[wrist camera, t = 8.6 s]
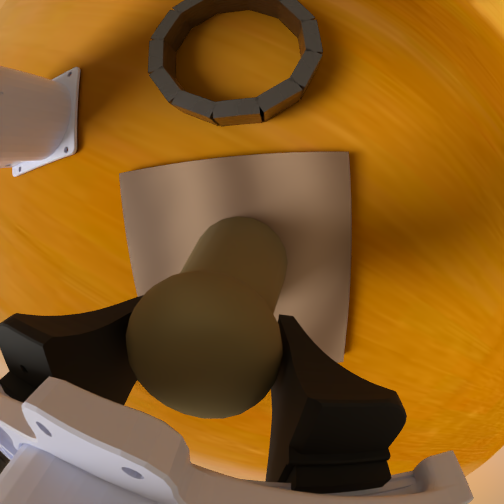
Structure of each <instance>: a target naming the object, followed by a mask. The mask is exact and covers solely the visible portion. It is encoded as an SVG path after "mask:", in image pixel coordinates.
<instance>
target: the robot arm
mask: <svg viewBox="0 0 504 504" xmlns="http://www.w3.org/2000/svg"><path fill="white" fill-rule="evenodd" d="M70 75H71V76H70ZM79 80H80V68H78V67H75V68H73V69H71V70H69V71H67V72H65V73H63V74H61V75H59V76H58V77H56V78H54V79H52V80H50V79H46V78H43V77H40V76H36V75H33V74H29V73H26V72H22V71H19V70H15V69H11V68H7V67H3V66H0V168H7V167H12V171H13V176H14V177H17V176H19V175H22V174H24V173H26V172H29V171H31V170H33V169H36V168H38V167H41V166H43V165H46V164H48V163H51V162H54V161H56V160H59V159H62V158H65V157H67V156H70V155H73V154H75V153H76V151H77V110H78V92H79ZM67 149H68V152H67ZM143 296H144V295H142V296H139V297H136V298H133V299H131V300H128V301H125V302H122V303H119V304H116V305H113V306H110V307H106V308H103V309H100V310H96V311H91V312H86V313H81V314H72V315H63V316H36V315H26V314H19V313H16V314H14V315H12V316H10V317H9V318H7V319H6V320H4V321H3V322H1V323H0V348H1V351H2V354H3V356H4V359H5V361H6V364H7V366H8V369H9V372H8V373H7V374H6V375H5V376H4V377H3V378H2V379H0V451H1V452H2V453H3V454H4V455H5V456H6V457H7V458H8V459H10V462H9V463H8V464H7V466H6V467H5V468H4V470H3V471H2V472H1V474H0V504H468V503H469V502H471V501H472V500H473V495H472V493H471V490H470V488H469V486H468V483H467V481H466V478H465V476H464V474H463V472H462V469H461V467H460V465H459V463H458V461H457V458H456V456H455V454H454V452H453V451H447V452H444V453H440V454H437V455H433V456H430V457H427V458H426V459H424V460H422V461H421V462H420V463H419V464H418V465H417V466H416V467H415V469H414V470H413V471H409V472H405V473H400V474H395V475H391V474H390V470H389V467H388V463H387V460H389V458H390V452H389V449H388V447H389V446H390V445H391V444H392V442H393V441H394V440H395V438H396V437H397V436H398V434H399V433H400V431H401V430H402V428H403V426H404V425H405V423H406V417H407V416H406V412H405V409H404V407H403V405H402V403H401V401H400V399H399V397H398V395H397V393H396V391H393V390H390V389H387V388H384V387H381V386H379V385H376V384H373V383H371V382H369V381H367V380H365V379H363V378H361V377H359V376H357V375H355V374H353V373H352V372H350V371H348V370H347V369H345V368H344V367H342V366H341V365H339V364H338V363H336V362H335V361H334V360H333V359H331V358H330V357H329V356H328V355H327V354H325V353H324V352H323V351H322V350H321V349H320V348H319V347H318V346H317V345H316V344H315V343H314V342H313V340H312V339H311V338H310V337H309V336H308V335H307V333H306V332H305V331H304V330H303V328H302V327H301V326H300V324H299V323H298V322H297V320H296V319H295V318H294V316H289V315H282V314H279V318H278V324H279V329H280V334H281V340H282V346H283V357H282V361H281V366H280V370H279V374H278V377H277V379H276V381H275V384H274V385H273V387H272V388H271V396H272V425H271V437H270V448H269V457H268V466H267V474H266V482H264V481H253V480H244V479H238V478H234V477H231V476H227V475H224V474H221V473H218V472H215V471H212V470H209V469H206V468H203V467H200V466H197V465H195V464H192V463H191V462H190V455H189V448H188V447H187V445H186V443H185V441H184V439H183V437H182V436H181V435H180V434H179V433H178V432H177V431H175V430H174V429H173V428H172V427H170V426H169V425H168V424H166V423H165V422H164V421H162V420H160V419H157V418H155V417H153V416H151V415H149V414H146V413H144V412H142V411H139V410H136V409H133V408H130V407H127V406H124V404H125V402H126V400H127V398H128V396H129V394H130V392H131V389H132V388H133V386H134V384H135V382H136V381H137V378H136V376H135V374H134V372H133V370H132V368H131V366H130V364H129V360H128V353H127V347H126V332H127V327H128V323H129V319H130V316H131V314H132V312H133V309H134V307H135V306H136V305H137V303H138V302H139V301H140V300H141V298H142V297H143Z"/></svg>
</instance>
